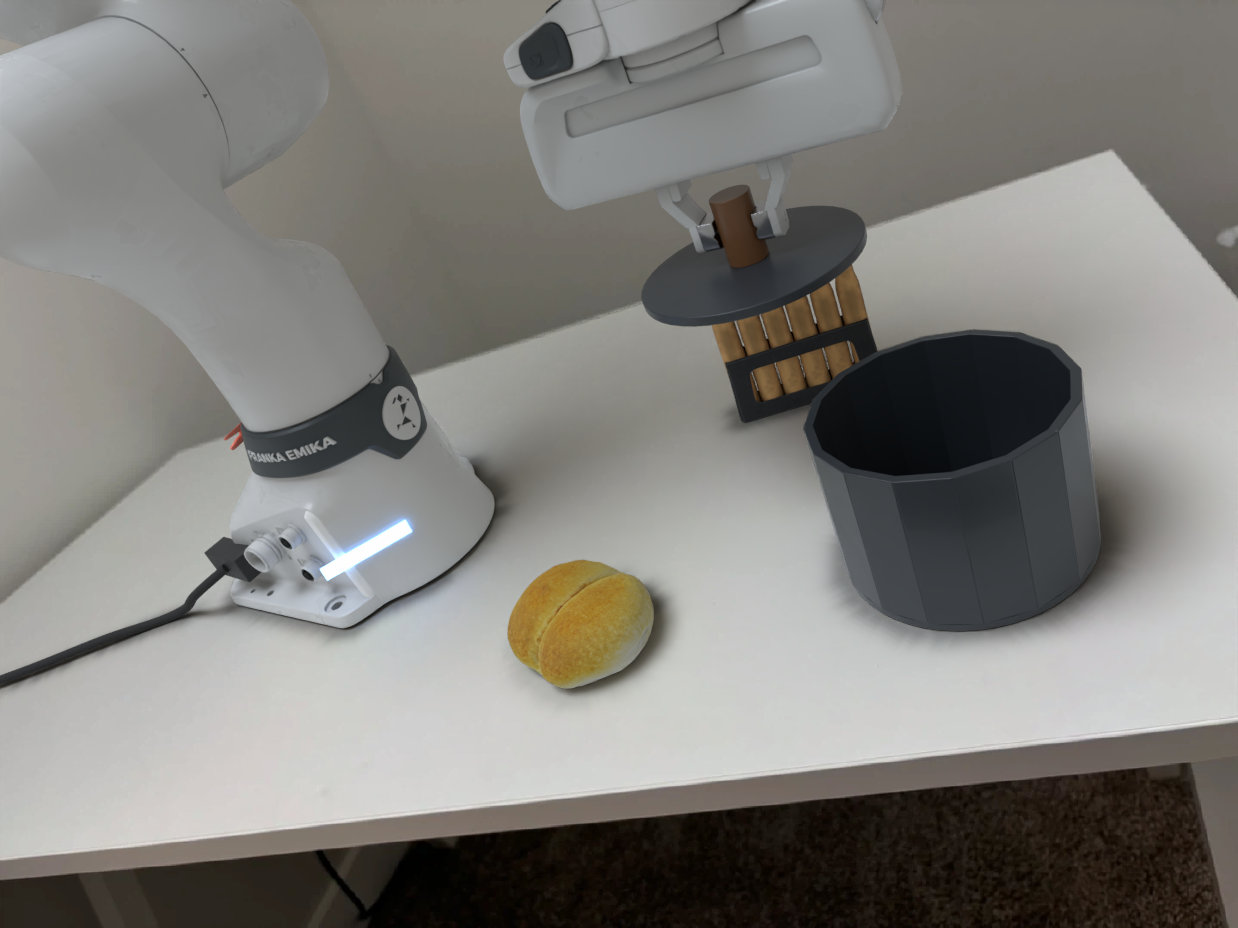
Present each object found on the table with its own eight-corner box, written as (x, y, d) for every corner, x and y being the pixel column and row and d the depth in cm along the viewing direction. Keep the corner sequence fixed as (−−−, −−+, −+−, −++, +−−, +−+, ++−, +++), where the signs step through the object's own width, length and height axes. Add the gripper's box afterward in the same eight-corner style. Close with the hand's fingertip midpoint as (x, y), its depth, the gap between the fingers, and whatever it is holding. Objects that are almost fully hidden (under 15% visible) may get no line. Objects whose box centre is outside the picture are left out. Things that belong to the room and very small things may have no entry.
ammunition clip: (741, 423, 70) (691, 278, 64) (739, 411, 71) (690, 268, 65) (886, 380, 68) (848, 225, 62) (881, 368, 69) (843, 216, 63)
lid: (617, 351, 54) (583, 270, 52) (683, 248, 64) (658, 175, 61) (849, 313, 48) (824, 218, 45) (884, 205, 58) (865, 121, 55)
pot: (828, 631, 50) (781, 490, 45) (865, 479, 59) (829, 349, 55) (1105, 632, 44) (1084, 468, 39) (1097, 461, 53) (1080, 313, 48)
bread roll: (586, 715, 51) (558, 664, 49) (500, 654, 58) (472, 607, 56) (690, 617, 55) (667, 566, 53) (597, 570, 61) (574, 523, 59)
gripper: (880, -97, 45) (934, 177, 52) (524, 34, 55) (609, 251, 62) (860, -71, 41) (922, 226, 48) (476, 67, 50) (574, 297, 57)
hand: (743, 241), depth 55 cm, fingers closed on lid, 2 cm apart
